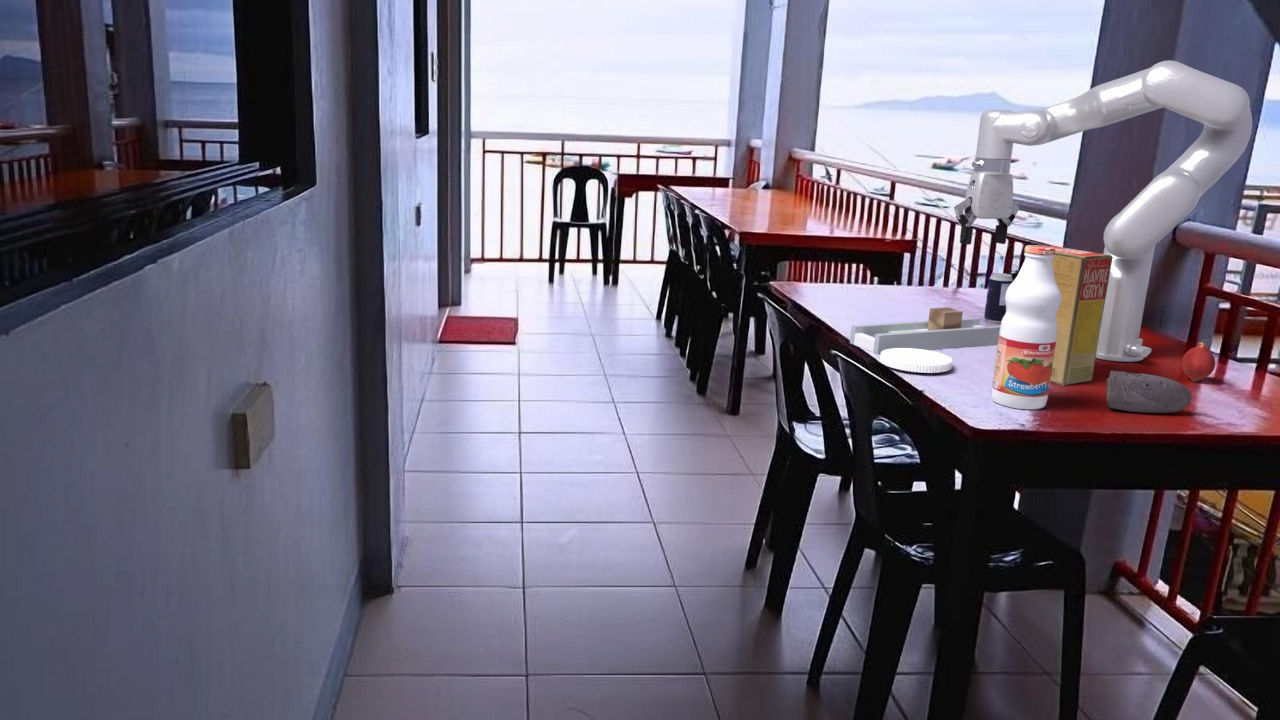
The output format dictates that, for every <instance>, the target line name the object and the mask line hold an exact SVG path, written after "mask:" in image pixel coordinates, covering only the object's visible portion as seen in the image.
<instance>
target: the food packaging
mask: <svg viewBox="0 0 1280 720" xmlns="http://www.w3.org/2000/svg"><path fill="white" fill-rule="evenodd" d="M1048 247H1053V248H1055V255H1054V258H1053V259H1052V266H1053V271H1054V276H1055V280H1056V283H1057V286H1058V288H1059V290H1060V292H1061V305H1060V307H1059V310H1058V312H1057V314H1056V321H1057V325H1058V330H1057V340H1056V345H1055V352H1054V359H1053V366H1052V372H1051V379H1050V383H1052V382H1053V384H1056V385H1060V386H1062V387H1063V386H1071V385H1075V384H1082V383H1083V384H1084V383H1087V382H1092V381H1093V377H1094V376H1093V375H1094V369H1095V362H1096V359H1097V358H1096V352H1097V346H1098V340H1099V333H1100V327H1101V322H1102V316H1103V310H1104V304H1105V299H1106V293H1107V287H1108V281H1109V275H1110V270H1111V263H1112V259H1113V256H1112V255H1105V254H1104V253H1097V252H1092V251H1087V250H1082V249H1081V250H1079V249H1075V248H1067V247H1062V246H1058V245H1057V246H1056V245H1053V246H1052V245H1049V246H1048Z"/></svg>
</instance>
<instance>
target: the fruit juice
mask: <svg viewBox="0 0 1280 720" xmlns="http://www.w3.org/2000/svg"><path fill="white" fill-rule="evenodd" d="M1023 250H1024V251H1023V252H1024V253H1023V255H1024V261H1023V263H1022V266H1021V267H1020V270H1019V272H1018V274H1017V276H1016V277H1015V278H1014V279H1013V282H1012V283H1011V285H1010V286H1009V287H1008V289H1007V291H1006V295H1005V303H1006V313H1005V315H1004V317H1003V319H1002V322H1001V324H1000V325H999V326H1000V332H999V340H998V345H997V349H996V356H995V364H994V369H993V370H994V371H993V379H992V385H991V396H990V397H991V400H992V402H994V403H997V404H999V405H1001V406H1004V407H1008V408H1012V409H1018V410H1040V409H1043V408H1045V407H1046V405H1047V402H1048V400H1049V399H1048V398H1049V392H1050V385H1051V384H1050V383H1051V382H1050V379H1051V372H1052V366H1053V359H1054V352H1055V345H1056V340H1057V330H1058V325H1057V321H1056V314H1057V312H1058V310H1059V307H1060V305H1061V292H1060V290H1059V288H1058V286H1057V283H1056V280H1055V276H1054V271H1053V266H1052V259H1053V258H1054V255H1055V248H1053V247H1048V246H1047V245H1037V244H1036V245H1035V244H1031V245H1030V244H1029V245H1026V246H1025V247H1024V249H1023Z"/></svg>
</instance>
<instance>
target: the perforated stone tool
mask: <svg viewBox="0 0 1280 720" xmlns="http://www.w3.org/2000/svg"><path fill="white" fill-rule="evenodd" d="M1108 376H1109V377H1108V378H1107V379H1106V385H1105V386H1106V388H1105V392H1106V398H1105V400H1106V402H1107V405H1108V408H1110V409H1113V410H1118V411H1125V412H1131V413H1145V414H1172V413H1177V412H1181V411H1183V410H1185V409H1186V408H1187V407H1189V405H1190V404H1191V402H1192V400H1193V399H1192V395H1193V394H1192V391H1191V390H1190V389H1189V388H1188V387H1187V386H1185V385H1184V384H1183V383H1181V382H1178V381H1176V380H1173V379H1170V378H1167V377H1163V376H1160V375H1154V374H1147V373H1133V372H1129V371H1128V372H1127V371H1119V370H1110V372H1109V375H1108Z"/></svg>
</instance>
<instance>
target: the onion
mask: <svg viewBox="0 0 1280 720" xmlns="http://www.w3.org/2000/svg"><path fill="white" fill-rule="evenodd" d="M1180 365H1181V366H1180V367H1181V369H1182V371H1183V372H1184V373H1185V375H1187V376H1188V377H1189V378H1190V381H1192V382H1200V381H1201V380H1204V379H1206V378H1207V377H1208V376H1210V375H1212V373H1213V372H1214V370H1215V367H1216V359H1215V356H1214V355H1213V353H1212V352H1211V350H1209V348H1207V347H1206V345H1205V343H1204V342H1199V343H1197V346H1195V347H1192V348H1190V349H1188V350H1187V351H1186V352H1185V354H1184V355H1183V357H1182V359H1181V363H1180Z"/></svg>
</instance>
